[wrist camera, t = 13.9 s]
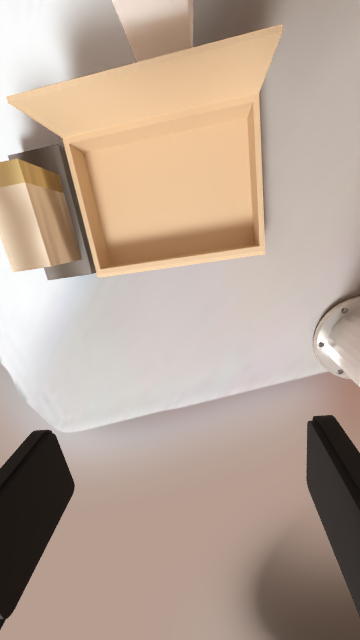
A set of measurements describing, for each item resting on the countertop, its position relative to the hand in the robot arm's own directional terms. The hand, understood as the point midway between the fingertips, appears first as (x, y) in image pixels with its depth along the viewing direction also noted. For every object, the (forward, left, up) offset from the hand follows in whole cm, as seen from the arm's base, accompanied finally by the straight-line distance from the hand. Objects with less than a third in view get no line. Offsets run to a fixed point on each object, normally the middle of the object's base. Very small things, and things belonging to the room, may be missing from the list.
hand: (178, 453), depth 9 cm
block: (+17, -12, -25) cm, 33 cm away
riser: (+17, -12, -28) cm, 35 cm away
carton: (+2, -12, -28) cm, 31 cm away
